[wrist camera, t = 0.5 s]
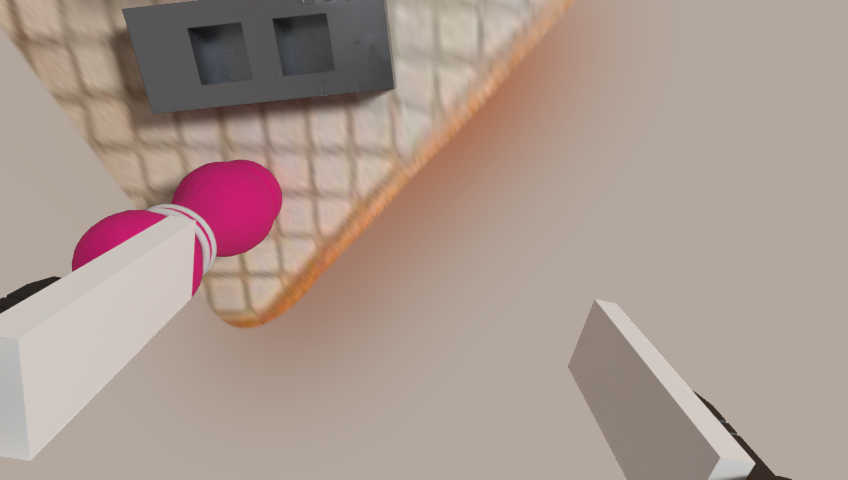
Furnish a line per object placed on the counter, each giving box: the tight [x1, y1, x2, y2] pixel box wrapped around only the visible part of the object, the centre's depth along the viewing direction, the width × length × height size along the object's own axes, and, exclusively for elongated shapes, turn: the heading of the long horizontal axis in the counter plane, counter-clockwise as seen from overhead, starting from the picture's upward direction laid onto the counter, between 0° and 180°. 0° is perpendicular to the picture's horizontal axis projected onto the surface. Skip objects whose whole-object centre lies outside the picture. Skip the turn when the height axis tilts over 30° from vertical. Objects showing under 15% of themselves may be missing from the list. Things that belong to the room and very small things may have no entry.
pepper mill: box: [72, 160, 282, 297], centre depth 30 cm, size 7×7×20 cm
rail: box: [122, 0, 396, 114], centre depth 34 cm, size 7×18×4 cm, turn 96°
